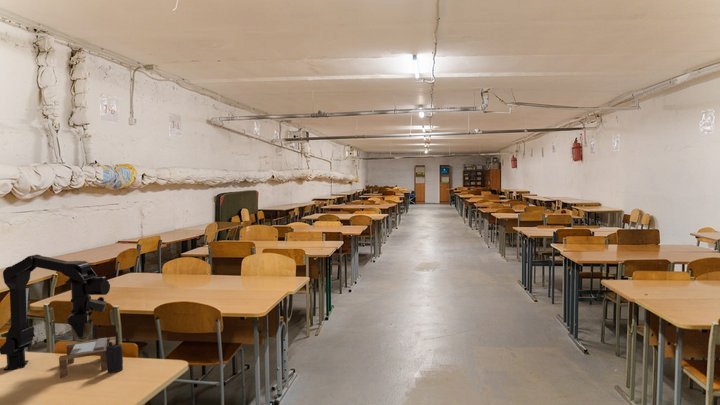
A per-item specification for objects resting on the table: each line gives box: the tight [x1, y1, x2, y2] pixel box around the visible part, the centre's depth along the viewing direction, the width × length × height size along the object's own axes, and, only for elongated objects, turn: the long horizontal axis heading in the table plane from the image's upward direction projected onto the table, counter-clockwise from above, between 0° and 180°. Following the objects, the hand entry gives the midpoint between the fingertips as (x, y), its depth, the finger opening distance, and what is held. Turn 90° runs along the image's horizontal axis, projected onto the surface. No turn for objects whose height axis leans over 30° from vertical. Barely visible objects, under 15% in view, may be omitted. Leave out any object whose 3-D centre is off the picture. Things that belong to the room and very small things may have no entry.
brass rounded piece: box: [70, 317, 94, 342], centre depth 171 cm, size 8×7×8 cm
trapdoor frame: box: [58, 336, 116, 379], centre depth 172 cm, size 16×17×8 cm
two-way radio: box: [106, 330, 124, 374], centre depth 166 cm, size 6×4×15 cm
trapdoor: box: [70, 337, 108, 354], centre depth 172 cm, size 11×11×2 cm
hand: (82, 334), depth 171 cm, fingers closed on brass rounded piece, 7 cm apart
